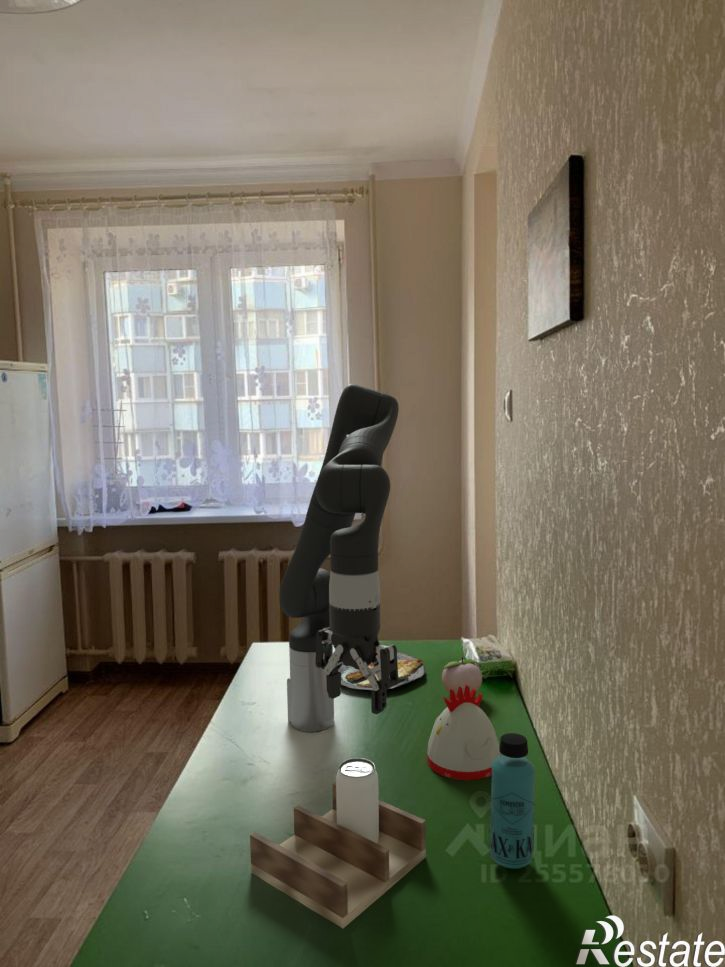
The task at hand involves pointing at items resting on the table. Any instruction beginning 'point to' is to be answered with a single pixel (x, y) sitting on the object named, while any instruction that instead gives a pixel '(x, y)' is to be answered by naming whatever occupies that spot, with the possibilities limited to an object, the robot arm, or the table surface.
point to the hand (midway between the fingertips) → (355, 704)
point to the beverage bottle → (512, 804)
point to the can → (358, 797)
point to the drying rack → (339, 860)
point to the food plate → (406, 672)
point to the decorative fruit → (462, 675)
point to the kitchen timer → (463, 739)
